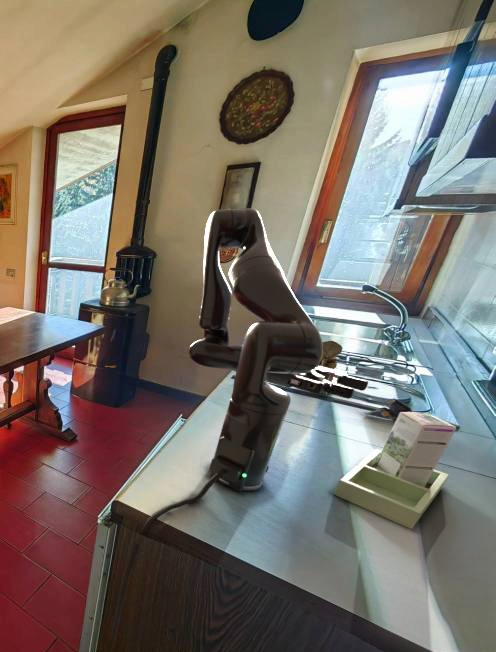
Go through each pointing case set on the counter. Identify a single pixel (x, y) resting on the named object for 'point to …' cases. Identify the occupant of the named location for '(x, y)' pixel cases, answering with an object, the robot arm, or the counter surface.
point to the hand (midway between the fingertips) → (359, 390)
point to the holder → (388, 491)
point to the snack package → (390, 410)
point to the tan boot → (330, 354)
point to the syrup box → (414, 446)
